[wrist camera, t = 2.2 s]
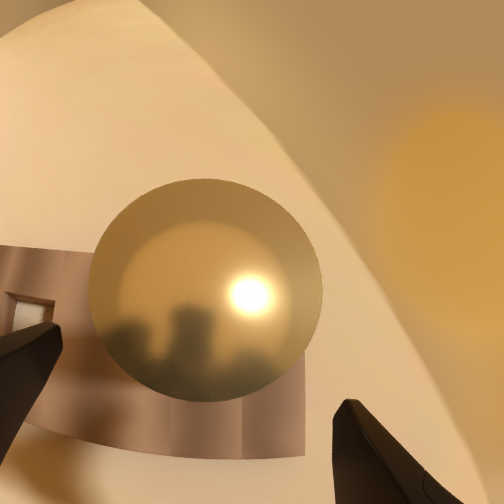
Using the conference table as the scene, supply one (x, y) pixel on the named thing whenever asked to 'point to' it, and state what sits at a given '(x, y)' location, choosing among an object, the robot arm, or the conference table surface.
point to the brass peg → (205, 290)
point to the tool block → (130, 390)
